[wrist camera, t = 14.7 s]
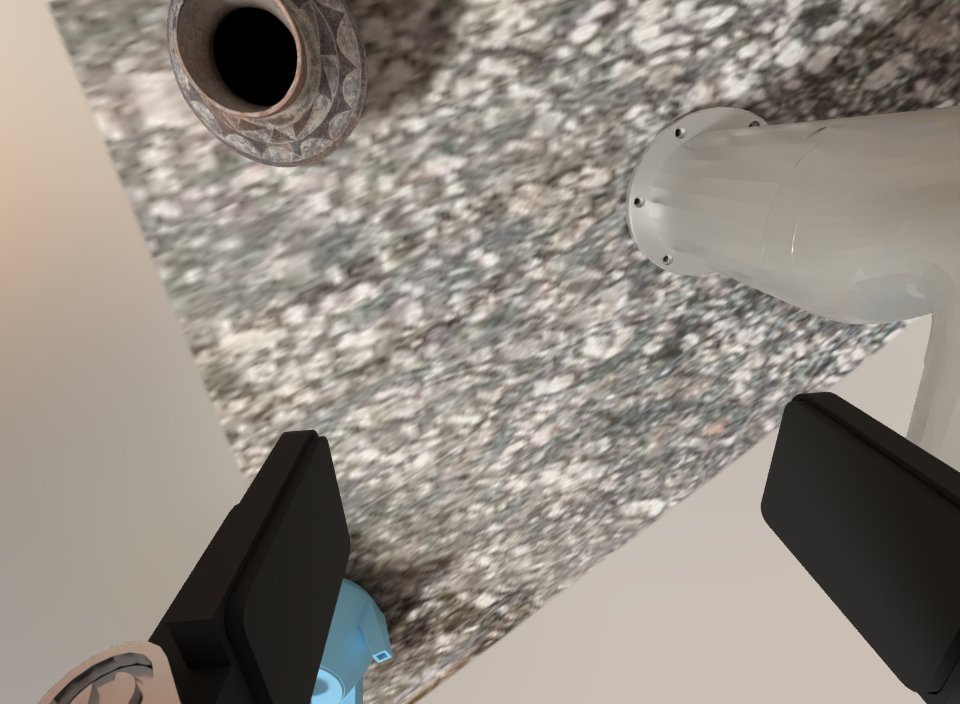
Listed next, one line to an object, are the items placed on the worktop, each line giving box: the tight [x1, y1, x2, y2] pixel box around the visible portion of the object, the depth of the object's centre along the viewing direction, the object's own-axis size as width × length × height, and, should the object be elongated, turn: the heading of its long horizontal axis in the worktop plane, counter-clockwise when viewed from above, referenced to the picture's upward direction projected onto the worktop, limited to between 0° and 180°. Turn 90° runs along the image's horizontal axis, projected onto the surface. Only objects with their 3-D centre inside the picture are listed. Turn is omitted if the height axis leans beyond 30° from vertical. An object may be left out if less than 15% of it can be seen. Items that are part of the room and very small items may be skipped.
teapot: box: [310, 578, 392, 704], centre depth 49 cm, size 15×15×11 cm
